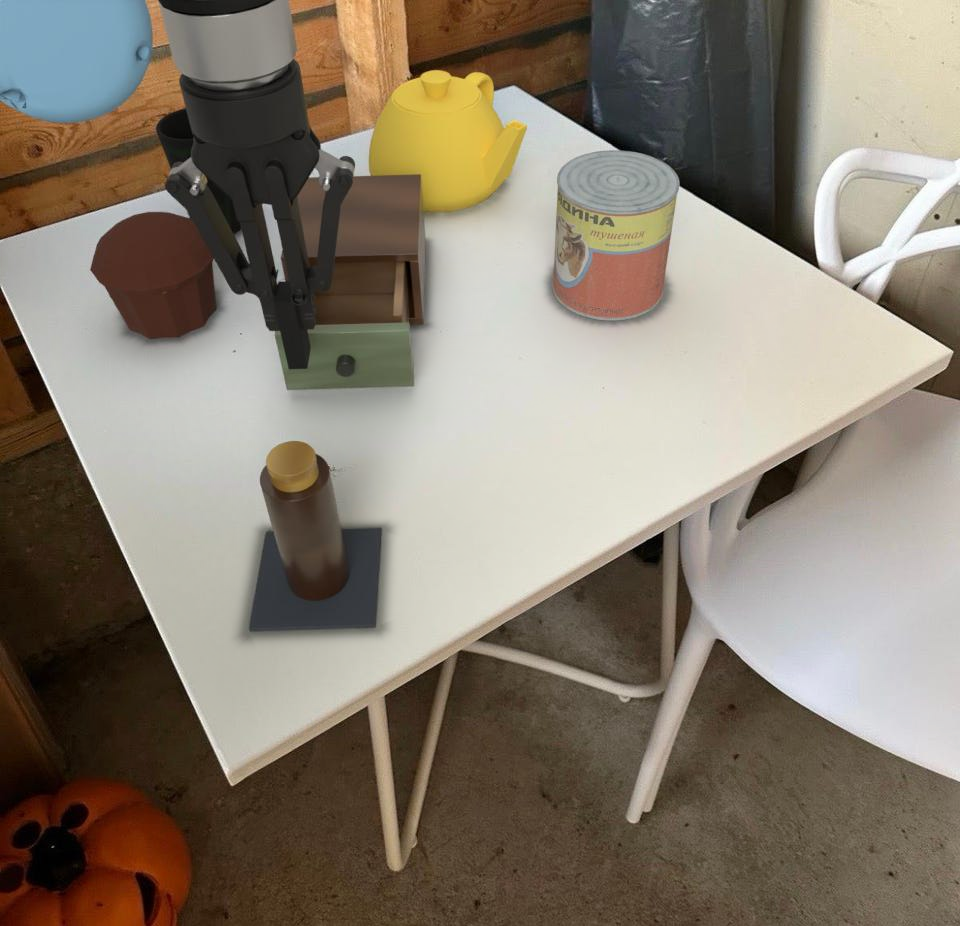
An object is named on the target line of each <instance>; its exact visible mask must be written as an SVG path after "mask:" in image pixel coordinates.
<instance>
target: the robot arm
mask: <svg viewBox="0 0 960 926" xmlns="http://www.w3.org/2000/svg"><path fill="white" fill-rule="evenodd" d="M157 2H158V4H159V9H160V14H161V17H162V21H163V25H164V29H165V33H166V36H167V42H168V45H169V49H170V53H171V57H172V62H173V64H174V67H175V69H176V70H177V71H178V72H179V73H180V76H179V79H178V82H179V87H180V91H181V95H182V98H183V102H184V107H185V108H186V111H187V114H188V118H189V122H190V126H191V130H192V133H193V136H194V142H193V147H192V149H191V157H190V158H189V159H188V160H186V161H185V162H184V163H183V162H176V163H174V164H173V166H172V168H170V171H169V173H168V176H167V179H166V181H165V183H164V188H165V190H166V192H167V193H168V194H169V195H170V196H171V197H172V198H173V199H174V200H175V201H176V202H178V203H179V205H181V206H182V207H183V208H184V209H185V210H186V212H187V211H188V212H187V214H188V213H189V215H190V217H191V219H192V220H193V222H194V224H195V226H196V227H197V229H198V231H199V233H200V235H201V236H202V238H203V240H204V242H205V244H206V245H207V247H208V249H209V251H210V253H211V254H212V256H213V258H214V260H213V261H215V263H216V265H217V267H218V268H219V270H220V273H221V274H222V276H223V277H224V280H225V281H226V283H227V284H228V287H229V288H230V290H231V291H232V292H233V293H234V294H235V295H239V296H241V295H245V294H246V293H248V294H252V295H254V296H256V298H258V299H259V302H260V306H261V311H262V315H263V319H264V323H265V327H266V328H267V330H268V331H269V332H275V331H280V333H281V337H282V342H283V346H284V351H285V355H286V359H287V364H288V368H289V369H307V368H308V362H309V355H310V349H311V346H310V341H309V336H308V331H307V330H311V329H314V327H315V323H316V317H317V310H316V304H315V299H314V294H313V293H314V292H315V291H318V290H319V291H328V290H329V289H330V287H331V282H332V275H333V269H334V261H335V252H336V244H337V236H338V228H339V220H340V212H341V204H342V202H343V200H344V198H345V197H346V195H347V193H348V191H349V190H350V188H351V186H352V184H353V177H354V176H355V171H356V170H355V169H356V161H355V160H354V159H353V158H352V157H351V156H348V155H343V156H340V157H337V156H335V155H332V154H331V153H329V152H327V151H326V150H323V149H322V146H321V142H320V139H319V138H318V136H317V135H316V133H314V131H313V128H312V127H311V125H310V120H309V115H308V114H309V113H308V109H307V102H306V97H305V90H304V83H303V78H302V72H301V66H300V65H299V62H298V61H297V59H295V57H296V54H297V52H298V47H297V39H296V35H295V29H294V23H293V16H292V11H291V4H290V0H158V1H157ZM153 43H154V39H153V24H152V20H151V14H150V10H149V8H148V5H147V2H146V0H0V101H1V102H2V103H3V104H5V105H7V106H8V107H10V108H12V109H13V110H15V111H18V112H20V113H22V114H24V115H26V116H28V117H30V118H33V119H37V120H40V121H44V122H48V123H49V122H50V123H55V124H74V123H75V124H76V123H81V122H88V121H91V120H95V119H98V118H100V117H103V116H106V115H108V114H109V113H111V112H113V111H115V110H117V109H118V108H119V107H120V106H122V105H124V103H126V102H127V101H128V100H129V99H130V98H131V97H132V96H133V94H134V93H135V92H136V90H137V89H138V88H139V86H140V85H141V84H142V82H143V79H144V77H145V75H146V74H147V70H148V67H149V64H150V62H151V57H152V55H153V52H154V47H153ZM314 170H316V171H317V172H318V175H319V176H318V177H319V184H320V186H321V187H322V188H323V190H325V197H324V203H323V209H322V218H321V227H320V237H319V246H318V255H317V265H316V266H314V267H311V268H310V265H309V259H308V254H307V249H306V243H305V238H304V233H303V227H302V222H301V217H300V211H299V206H298V194H299V193H300V191H301V189H302V188H303V186H304V185H305V183H306V181H307V180H308V178H310V176H311V175H312V173H313V171H314ZM205 176H206V177H207V178H208V179H209V180H210V181H211V182H213V183H214V184H215V185H216V186H217V187H218V188H219V189H220V190H221V191H222V192H223V193H224V194H225V195H227V196H228V197H229V198H230V199H231V200H233V205H234V209H235V213H236V217H237V220H238V221H239V222H240V225H241V230H240V231H241V233H242V238H243V242H244V246H245V251H246V255H247V256H246V255H245V252H244V250H243V249H242V247H241V245H240V242H238V240H237V238H236V236H235V234H233V232H232V230H231V228H230V226H229V225H228V223H227V221H226V219H225V217H224V215H223V213H222V211H221V209H220V207H219V206H218V204H217V202H216V200H215V198H214V196H213V194H212V193H211V191H210V189H209V188H208V186H207V185H206V184H207V178H206V177H205ZM263 204H264V205H268V206H271V209H272V213H273V218H274V221H276V225H277V229H278V234H279V239H280V244H281V249H282V250H283V254H284V259H285V263H286V268H287V273H288V278H289V281H285V280H284V281H281V280H279V281H277V279H278V277H279V276H278V275H279V269H276V264H275V260H274V254H273V250H272V244H271V240H270V236H269V231H268V226H267V221H266V217H265V216H266V215H265V212H264V207H263ZM189 215H188V216H189ZM190 217H189V218H190Z"/></svg>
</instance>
